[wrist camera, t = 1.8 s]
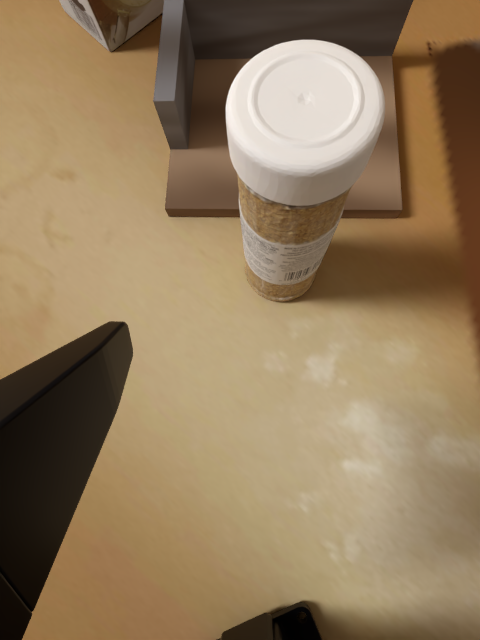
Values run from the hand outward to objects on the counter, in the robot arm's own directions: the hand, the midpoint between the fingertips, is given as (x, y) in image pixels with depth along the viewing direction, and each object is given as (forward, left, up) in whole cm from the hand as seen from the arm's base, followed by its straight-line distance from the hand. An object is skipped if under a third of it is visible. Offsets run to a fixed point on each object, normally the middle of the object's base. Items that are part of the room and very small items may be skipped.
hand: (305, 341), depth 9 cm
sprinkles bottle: (+6, -3, -13) cm, 15 cm away
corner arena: (+15, -7, -13) cm, 21 cm away
